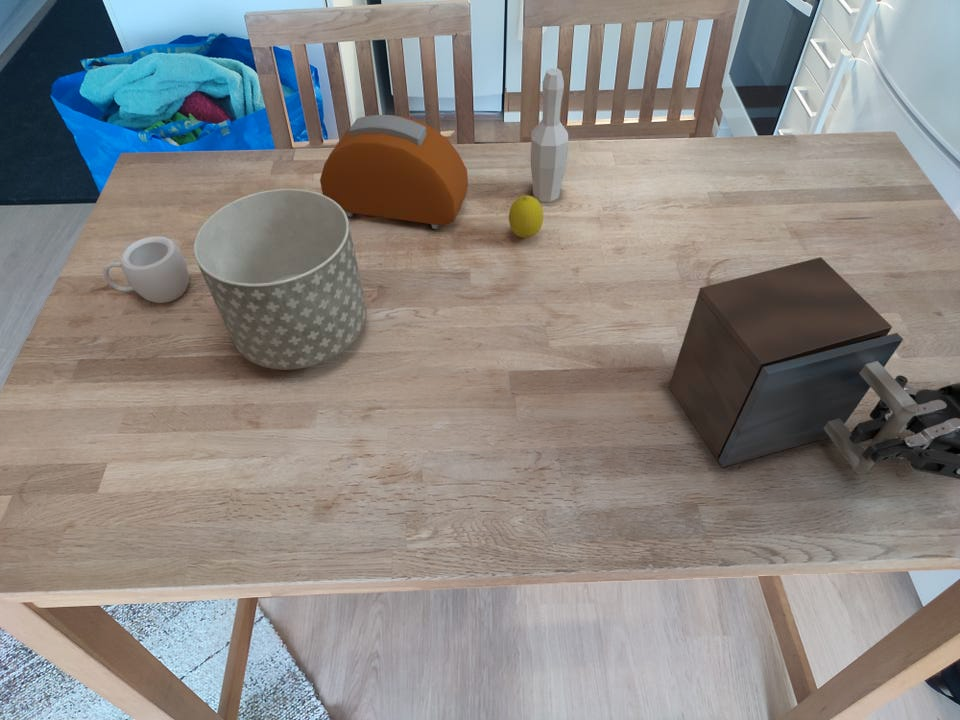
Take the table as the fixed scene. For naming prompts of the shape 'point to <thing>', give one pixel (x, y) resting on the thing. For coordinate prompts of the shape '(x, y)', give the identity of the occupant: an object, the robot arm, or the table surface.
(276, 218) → the planter
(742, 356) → the cupboard
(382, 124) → the orange toaster
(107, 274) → the mug
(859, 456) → the door
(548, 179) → the low poly bottle
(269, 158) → the table surface
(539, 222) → the lemon
